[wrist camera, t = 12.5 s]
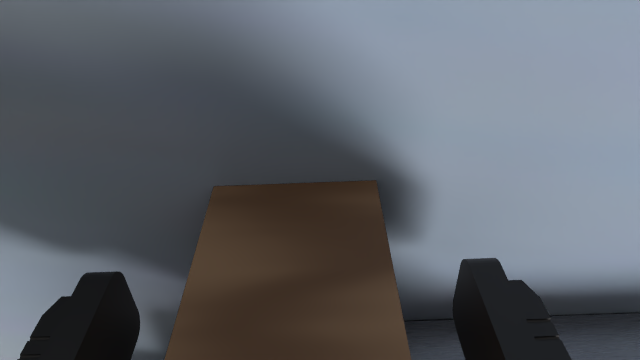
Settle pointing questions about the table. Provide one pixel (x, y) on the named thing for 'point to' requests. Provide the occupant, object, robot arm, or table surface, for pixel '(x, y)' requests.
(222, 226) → the walnut block
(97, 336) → the robot arm
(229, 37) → the table surface
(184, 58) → the table surface
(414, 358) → the grey shallow tray
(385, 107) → the table surface
